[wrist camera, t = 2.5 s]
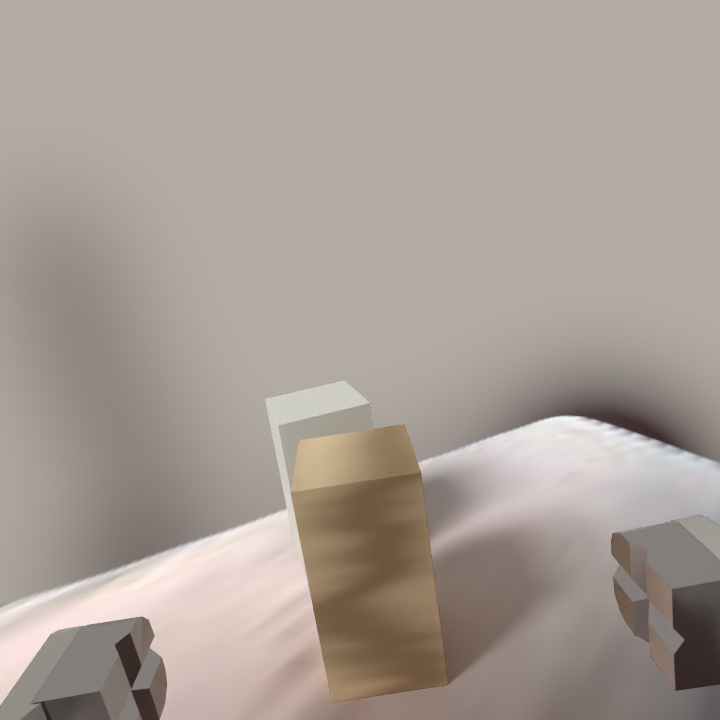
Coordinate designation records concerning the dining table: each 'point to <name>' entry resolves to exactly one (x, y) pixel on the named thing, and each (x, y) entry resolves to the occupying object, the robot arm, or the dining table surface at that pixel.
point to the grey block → (312, 428)
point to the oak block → (369, 562)
